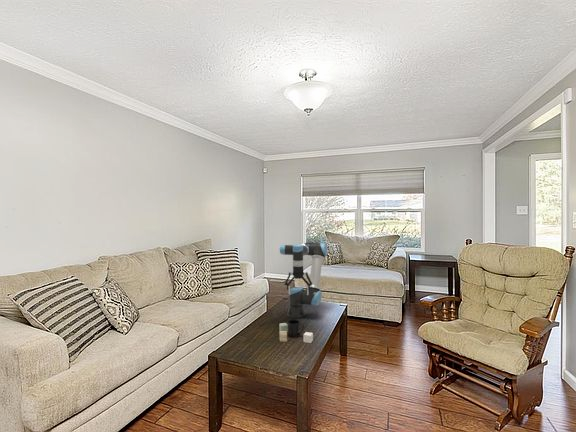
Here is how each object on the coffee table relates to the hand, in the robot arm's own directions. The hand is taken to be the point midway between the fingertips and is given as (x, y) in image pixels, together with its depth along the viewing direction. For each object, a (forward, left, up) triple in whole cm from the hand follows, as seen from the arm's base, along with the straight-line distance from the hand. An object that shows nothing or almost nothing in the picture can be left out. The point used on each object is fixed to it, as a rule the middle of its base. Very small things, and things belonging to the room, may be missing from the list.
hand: (298, 294), depth 219 cm
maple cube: (+18, -9, -26) cm, 33 cm away
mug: (+10, -1, -26) cm, 28 cm away
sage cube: (+3, -11, -26) cm, 29 cm away
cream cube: (+18, +8, -26) cm, 33 cm away
